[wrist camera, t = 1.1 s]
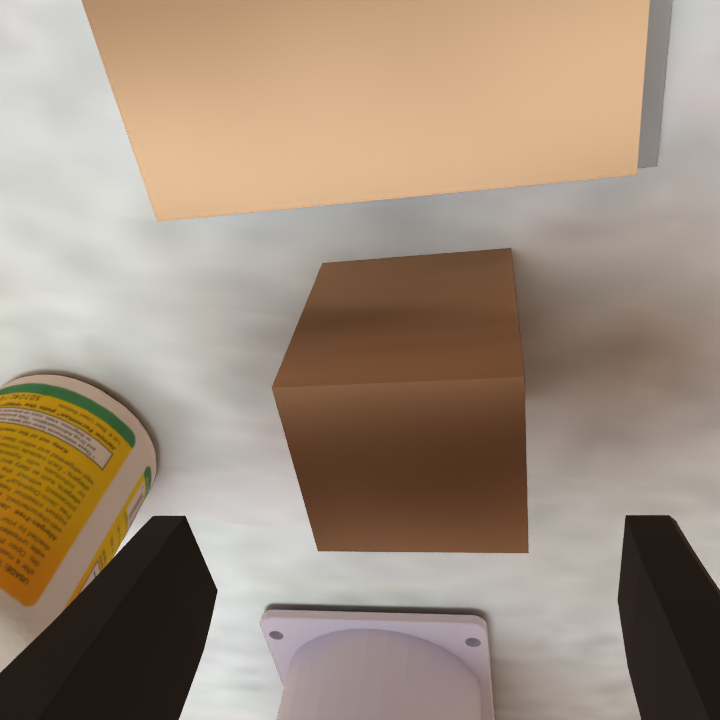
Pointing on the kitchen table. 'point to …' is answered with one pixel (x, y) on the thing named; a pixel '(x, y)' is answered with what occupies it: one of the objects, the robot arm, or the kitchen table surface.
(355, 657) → the robot arm
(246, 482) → the kitchen table surface
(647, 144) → the baseplate
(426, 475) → the walnut block
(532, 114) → the oak brick
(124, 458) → the supplement bottle
